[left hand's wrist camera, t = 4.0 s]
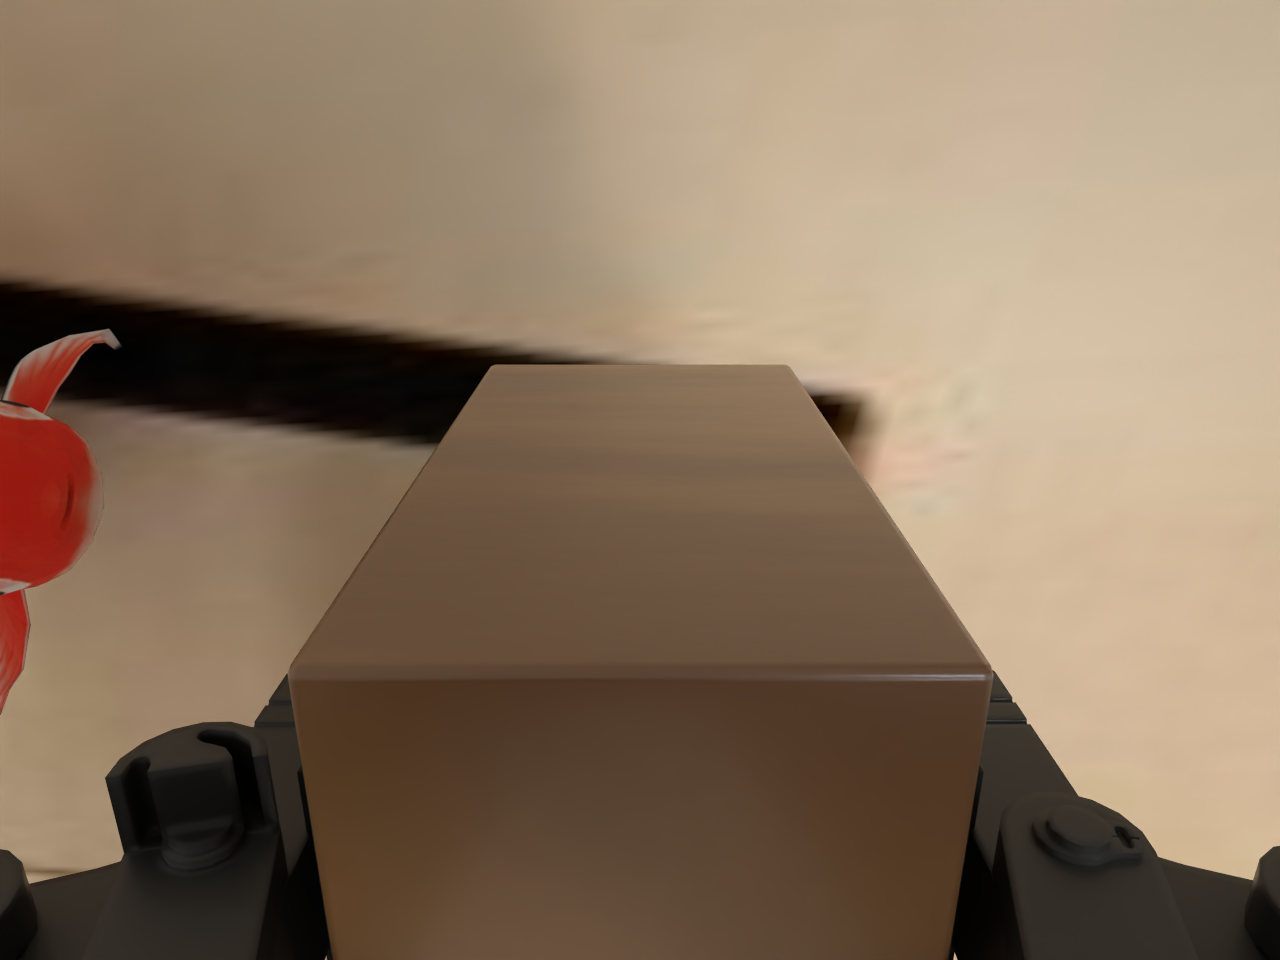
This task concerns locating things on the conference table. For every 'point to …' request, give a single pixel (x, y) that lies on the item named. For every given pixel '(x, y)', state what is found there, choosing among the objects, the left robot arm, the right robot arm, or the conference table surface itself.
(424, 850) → the bar
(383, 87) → the conference table surface
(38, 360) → the fish
